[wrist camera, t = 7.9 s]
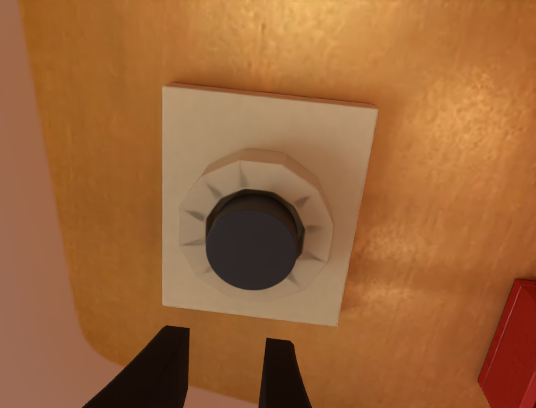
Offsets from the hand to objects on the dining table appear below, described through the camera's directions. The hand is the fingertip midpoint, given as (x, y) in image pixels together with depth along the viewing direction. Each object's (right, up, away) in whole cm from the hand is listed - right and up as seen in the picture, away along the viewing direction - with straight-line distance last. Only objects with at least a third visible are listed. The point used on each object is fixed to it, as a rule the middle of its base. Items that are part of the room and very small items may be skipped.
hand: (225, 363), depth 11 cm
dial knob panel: (+1, +4, +10) cm, 10 cm away
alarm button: (+1, +3, +7) cm, 8 cm away
